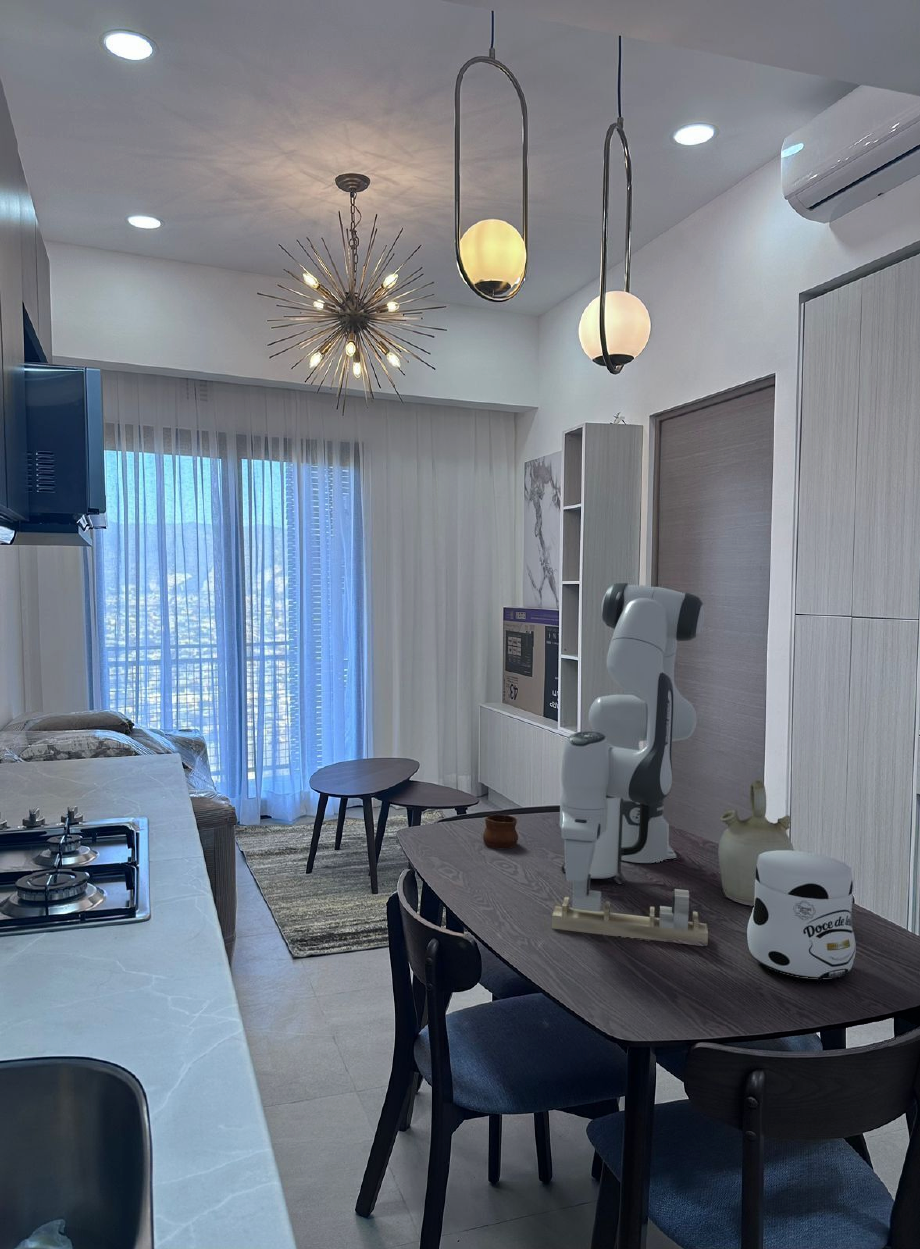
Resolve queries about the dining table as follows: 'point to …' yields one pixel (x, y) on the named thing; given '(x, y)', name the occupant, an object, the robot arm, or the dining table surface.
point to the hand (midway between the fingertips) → (580, 892)
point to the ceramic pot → (500, 831)
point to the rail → (635, 921)
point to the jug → (749, 845)
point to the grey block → (587, 899)
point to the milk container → (802, 915)
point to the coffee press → (616, 842)
